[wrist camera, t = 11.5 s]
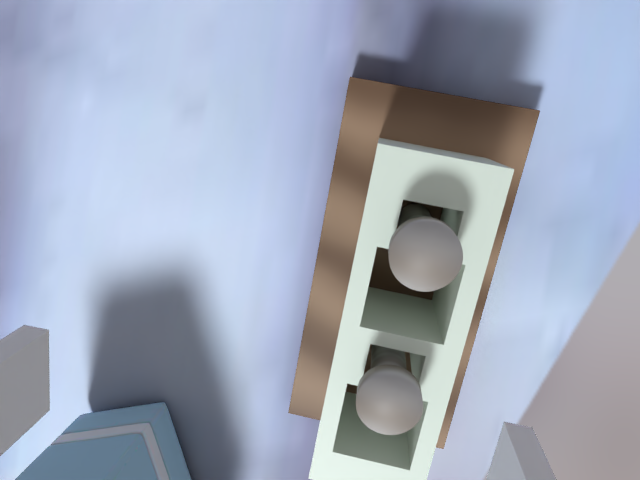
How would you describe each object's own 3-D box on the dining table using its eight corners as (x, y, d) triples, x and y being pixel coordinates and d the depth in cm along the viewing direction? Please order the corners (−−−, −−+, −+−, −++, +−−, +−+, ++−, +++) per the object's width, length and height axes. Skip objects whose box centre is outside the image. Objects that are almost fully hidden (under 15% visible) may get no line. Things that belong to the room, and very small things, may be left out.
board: (351, 78, 33) (337, 61, 23) (532, 110, 32) (603, 108, 22) (291, 402, 39) (259, 503, 29) (441, 436, 38) (462, 553, 28)
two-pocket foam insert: (378, 137, 32) (377, 143, 25) (486, 157, 32) (514, 169, 25) (321, 413, 38) (308, 478, 31) (412, 434, 37) (419, 505, 30)
